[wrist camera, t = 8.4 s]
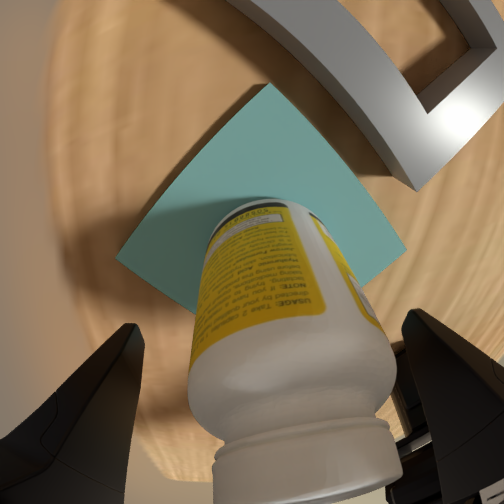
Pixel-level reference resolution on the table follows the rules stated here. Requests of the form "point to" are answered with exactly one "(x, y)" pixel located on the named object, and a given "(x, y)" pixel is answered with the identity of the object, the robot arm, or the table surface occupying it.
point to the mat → (257, 198)
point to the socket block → (394, 79)
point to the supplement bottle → (289, 363)
